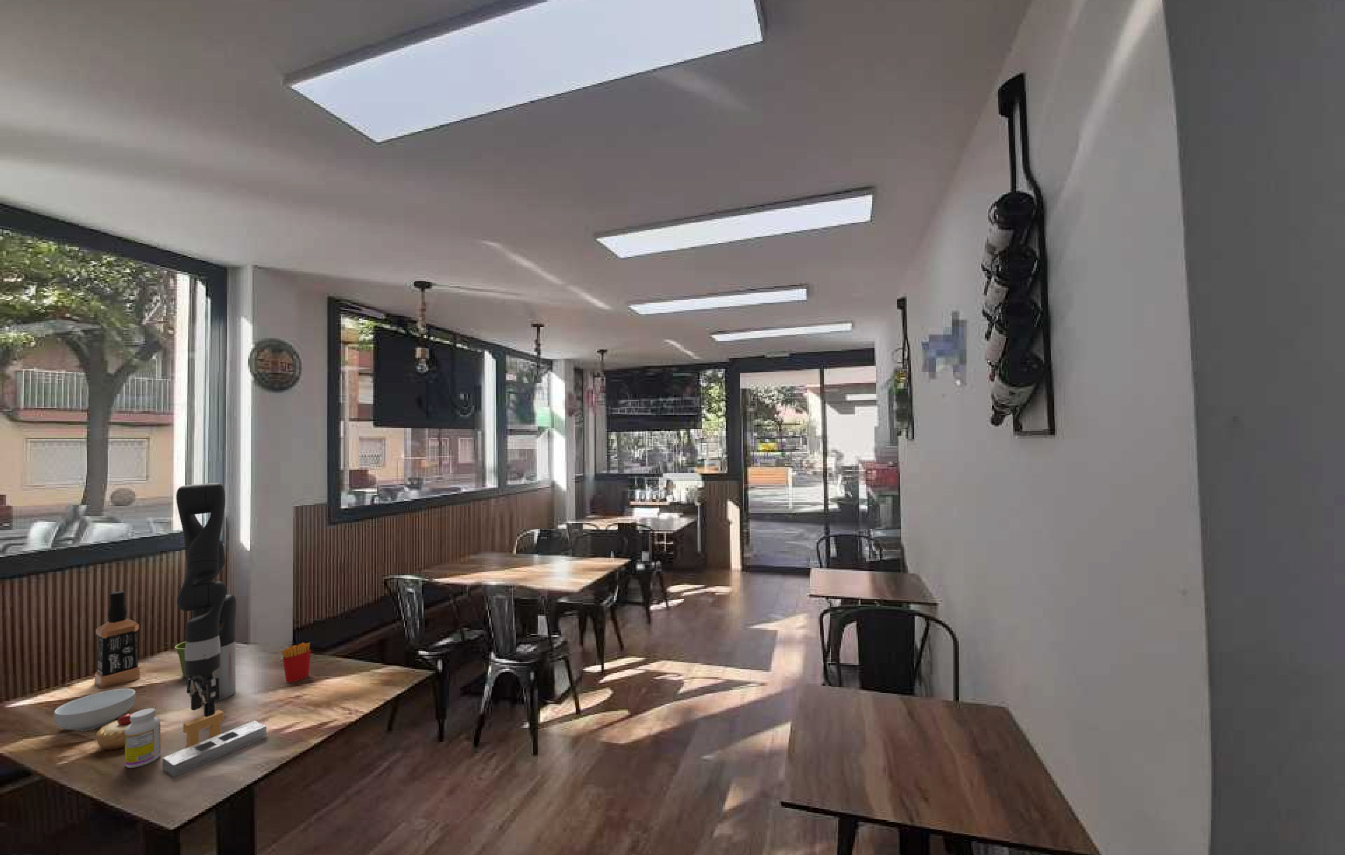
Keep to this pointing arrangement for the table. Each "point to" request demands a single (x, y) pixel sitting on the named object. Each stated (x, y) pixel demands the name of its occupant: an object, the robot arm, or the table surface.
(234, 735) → the rail
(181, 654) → the plant pot
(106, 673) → the whiskey bottle
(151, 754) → the supplement bottle
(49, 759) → the table surface
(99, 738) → the pastry
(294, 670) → the french fries
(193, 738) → the ochre wooden block
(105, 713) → the cereal bowl
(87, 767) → the table surface
